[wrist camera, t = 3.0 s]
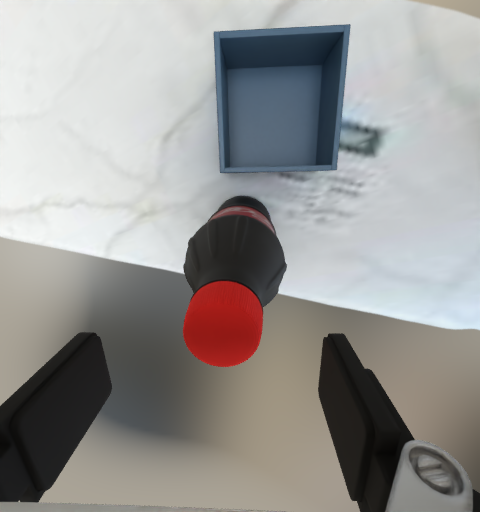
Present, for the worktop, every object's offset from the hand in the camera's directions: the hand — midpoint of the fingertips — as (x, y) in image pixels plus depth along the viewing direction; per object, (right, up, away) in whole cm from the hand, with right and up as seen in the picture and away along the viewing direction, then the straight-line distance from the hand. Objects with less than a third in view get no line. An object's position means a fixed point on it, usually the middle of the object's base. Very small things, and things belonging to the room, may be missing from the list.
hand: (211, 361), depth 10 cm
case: (+6, +24, +25) cm, 35 cm away
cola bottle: (+2, +10, +30) cm, 32 cm away
